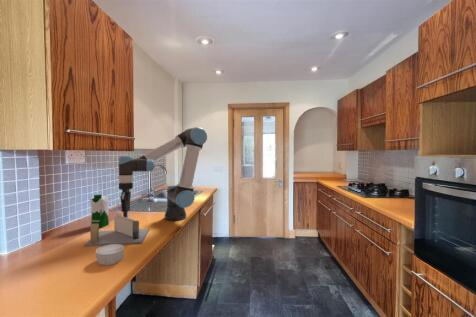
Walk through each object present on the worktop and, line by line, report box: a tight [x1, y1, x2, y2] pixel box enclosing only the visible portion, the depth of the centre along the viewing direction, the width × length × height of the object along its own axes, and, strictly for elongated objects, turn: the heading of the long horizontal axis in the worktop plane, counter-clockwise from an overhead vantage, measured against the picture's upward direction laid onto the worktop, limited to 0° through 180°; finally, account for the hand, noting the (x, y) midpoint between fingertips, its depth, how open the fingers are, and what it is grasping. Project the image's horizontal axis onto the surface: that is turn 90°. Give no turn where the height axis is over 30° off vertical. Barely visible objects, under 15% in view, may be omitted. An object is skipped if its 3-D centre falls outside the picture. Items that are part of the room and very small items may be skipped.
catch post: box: [89, 223, 100, 243], centre depth 124 cm, size 3×2×10 cm
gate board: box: [83, 228, 150, 247], centre depth 133 cm, size 27×21×1 cm
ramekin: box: [94, 244, 125, 266], centre depth 106 cm, size 11×11×5 cm
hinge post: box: [133, 220, 140, 239], centre depth 130 cm, size 3×3×10 cm
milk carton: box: [89, 194, 110, 229], centre depth 154 cm, size 9×9×20 cm
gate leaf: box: [113, 214, 135, 237], centre depth 136 cm, size 18×2×9 cm, turn 55°
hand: (125, 222), depth 144 cm, fingers closed
